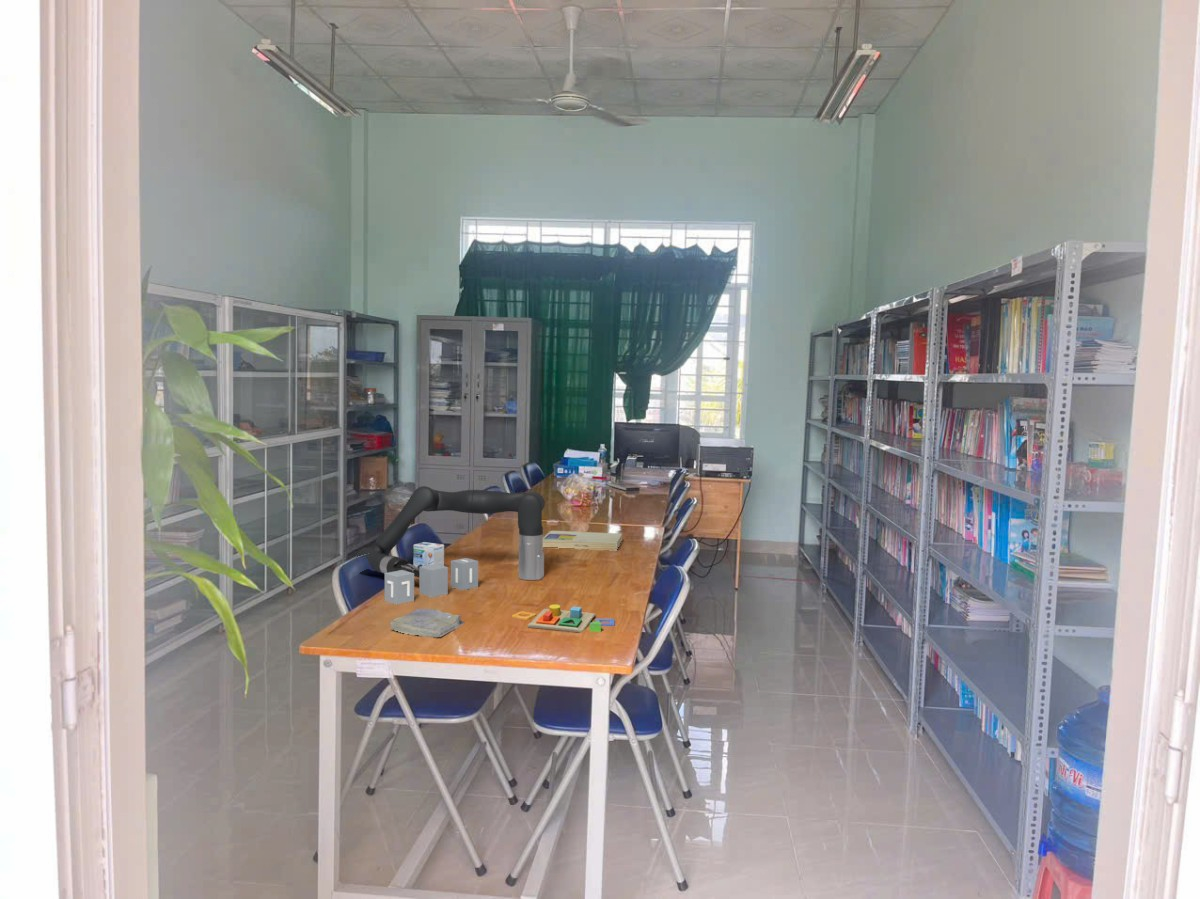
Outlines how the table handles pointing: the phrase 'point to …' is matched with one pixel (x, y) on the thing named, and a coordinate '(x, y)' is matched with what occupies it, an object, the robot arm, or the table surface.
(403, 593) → the block marked 7
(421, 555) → the light bulb box
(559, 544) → the puzzle box
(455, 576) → the block marked 1
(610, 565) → the table surface
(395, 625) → the fossil
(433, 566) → the plain block
